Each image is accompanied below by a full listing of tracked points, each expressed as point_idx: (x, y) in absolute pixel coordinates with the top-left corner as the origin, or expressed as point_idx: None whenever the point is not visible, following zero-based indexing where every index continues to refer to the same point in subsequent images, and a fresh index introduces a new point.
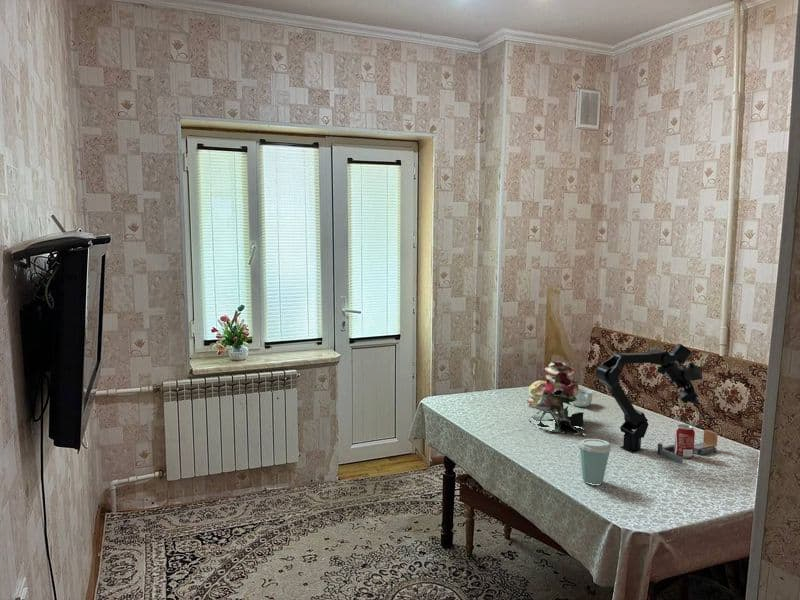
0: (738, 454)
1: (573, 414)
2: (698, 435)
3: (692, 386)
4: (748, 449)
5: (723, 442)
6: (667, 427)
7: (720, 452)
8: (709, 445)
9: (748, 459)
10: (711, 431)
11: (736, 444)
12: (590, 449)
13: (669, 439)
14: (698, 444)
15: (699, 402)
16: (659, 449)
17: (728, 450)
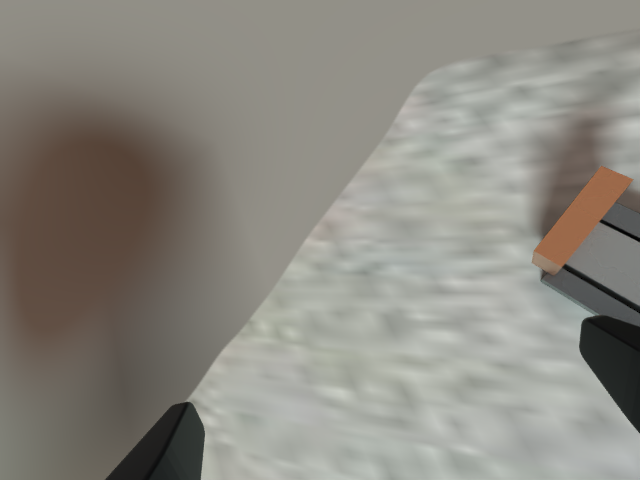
0: (559, 100)
1: None
2: (335, 297)
3: (167, 467)
4: (439, 80)
5: (387, 187)
6: (277, 440)
7: (582, 184)
8: (603, 237)
9: (629, 41)
10: (573, 212)
11: (389, 135)
12: None
13: (482, 469)
14: (607, 306)
15: (610, 321)
16: None
17: (512, 152)
